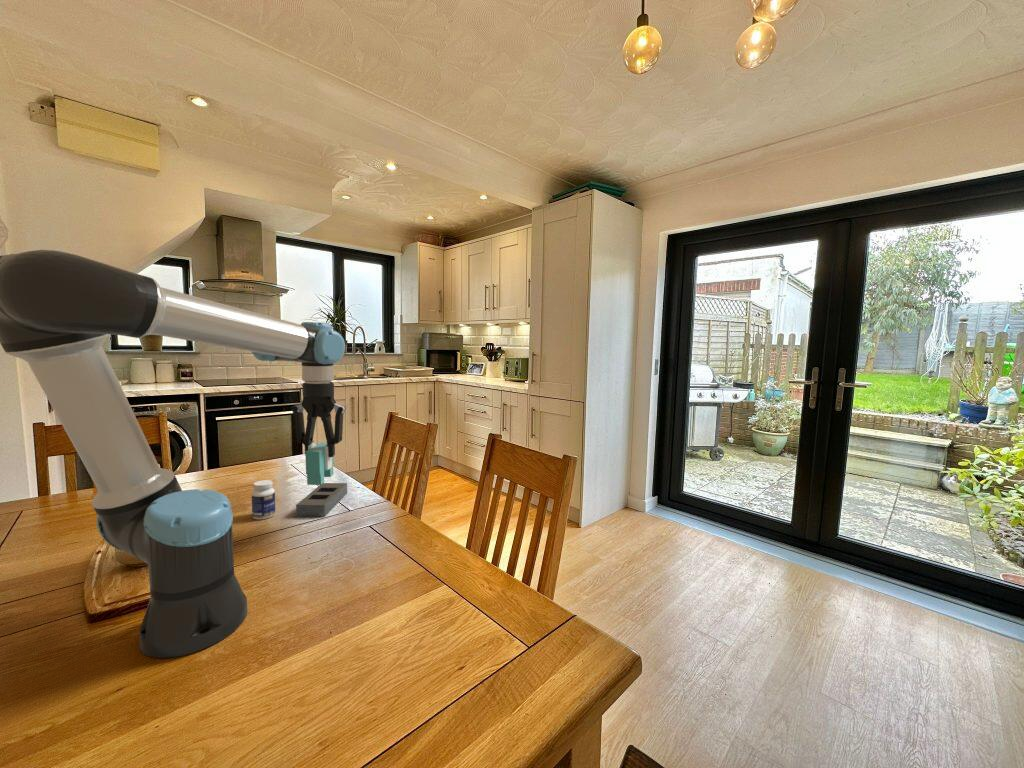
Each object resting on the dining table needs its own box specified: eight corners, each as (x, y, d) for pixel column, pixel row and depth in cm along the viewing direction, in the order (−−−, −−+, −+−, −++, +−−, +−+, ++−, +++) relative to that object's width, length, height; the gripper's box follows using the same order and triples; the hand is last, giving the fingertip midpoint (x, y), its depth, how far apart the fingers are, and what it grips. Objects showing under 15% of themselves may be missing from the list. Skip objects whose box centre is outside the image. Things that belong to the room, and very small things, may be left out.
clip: (320, 485, 105) (319, 451, 104) (306, 485, 105) (305, 451, 104) (334, 474, 114) (333, 442, 113) (321, 473, 114) (320, 442, 113)
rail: (324, 516, 117) (324, 505, 117) (296, 516, 117) (296, 504, 117) (347, 493, 135) (347, 483, 135) (322, 493, 135) (322, 482, 134)
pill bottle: (267, 520, 114) (266, 486, 113) (247, 520, 114) (246, 485, 113) (279, 512, 120) (278, 479, 119) (260, 511, 120) (259, 478, 119)
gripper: (355, 381, 111) (356, 464, 113) (293, 379, 110) (295, 463, 113) (345, 384, 103) (346, 473, 106) (278, 382, 102) (281, 472, 105)
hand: (320, 468), depth 109 cm, fingers closed on clip, 3 cm apart
